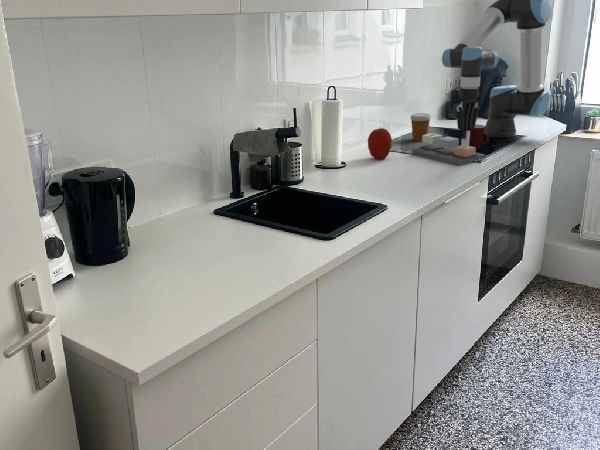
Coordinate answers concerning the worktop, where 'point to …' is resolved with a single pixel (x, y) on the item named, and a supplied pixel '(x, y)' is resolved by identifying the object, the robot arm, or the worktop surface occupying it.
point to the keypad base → (445, 154)
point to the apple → (379, 143)
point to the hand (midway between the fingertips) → (464, 146)
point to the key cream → (431, 138)
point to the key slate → (448, 142)
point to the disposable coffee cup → (419, 125)
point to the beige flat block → (464, 151)
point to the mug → (478, 136)
